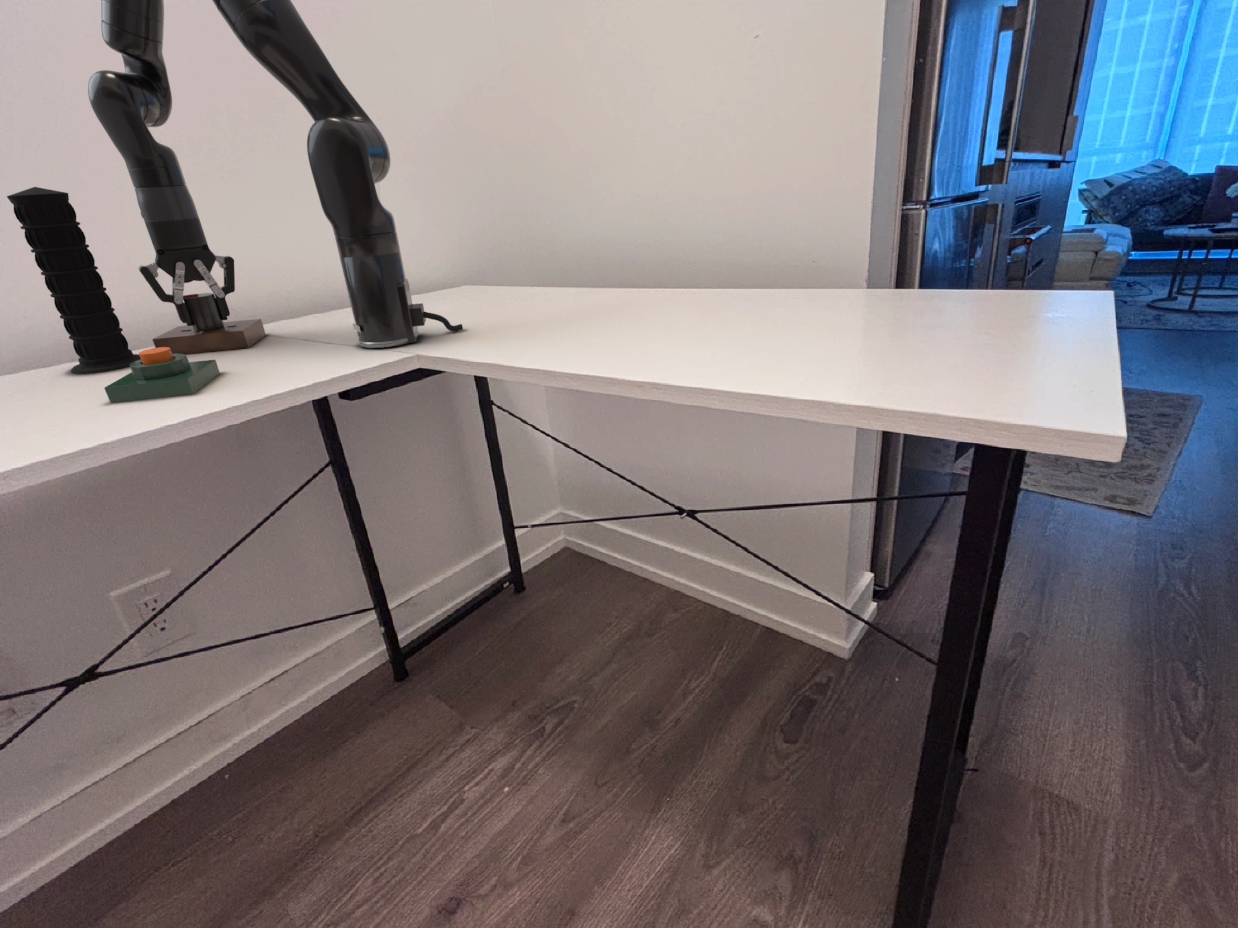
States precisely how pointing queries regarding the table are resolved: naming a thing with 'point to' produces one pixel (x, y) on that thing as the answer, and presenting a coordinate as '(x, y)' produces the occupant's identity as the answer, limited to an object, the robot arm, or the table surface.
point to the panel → (212, 337)
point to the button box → (162, 379)
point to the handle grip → (72, 280)
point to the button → (156, 355)
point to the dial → (203, 311)
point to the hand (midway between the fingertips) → (207, 321)
